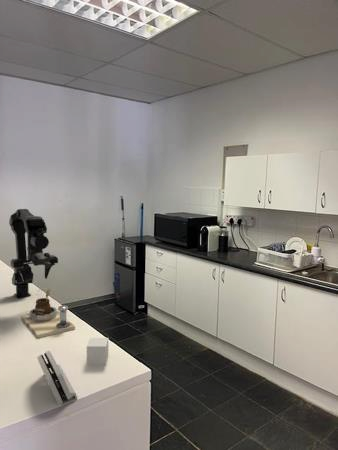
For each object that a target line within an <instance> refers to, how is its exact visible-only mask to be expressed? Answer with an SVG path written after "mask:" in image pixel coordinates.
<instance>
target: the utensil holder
mask: <svg viewBox="0 0 338 450" xmlns="http://www.w3.org/2000/svg"><path fill="white" fill-rule="evenodd" d="M50 291H51V289H50V288H49V289H47V290H46V292H45V297H46V298H45V297H42V296H39V298H38V299H36V301H35V307H34V309H35V314H36V315H45V314H50V313H51V307H52V306H51V303H50V299H49V298H48V297H49V296H50ZM40 292H41V289H38V291H37V292H36V295H39V294H41V293H40Z"/></svg>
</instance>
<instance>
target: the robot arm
mask: <svg viewBox="0 0 338 450" xmlns="http://www.w3.org/2000/svg"><path fill="white" fill-rule="evenodd" d="M8 222H9V227H10V229H11V231H12V232H13V234H14V237H15V239H14V240H15V251H16V258H14V259H13V258H12V259H11V260H10V266H11V268H13V273H12V278H11V284H12V285H13V286H15V293H14V294H13V296H15V297H16V298H17V299H21V298H26V297H31V296H32V293H30V292H29V288H30V287H29V284H33V283H34V282H33V280H34V273H33V271H32V267H31V266H30V265H33V266H37V267H38V266H44V279H45V280H47V279H48V276H49V274H50V271H51V268H52V267H53V266H55V265H56V264H59V258H58V257H57V256H56V255H54V254H51V253H50V252H45V253H44V252H43V251H44V250H45V249H46V248H47V247H48V246H49V242H50V240H49V238H48V237H47V236H45V234H47V230H48V228H47V224H46V222H45V219H43V217H42V216H38V215H34V214H33V213H32V212H30V211H29V209H27V208H19V209H17V210H16V211H15V212H14V213H12V214H11V215H10V217H9V221H8ZM26 235H27V237H26ZM26 238H27V241H26Z"/></svg>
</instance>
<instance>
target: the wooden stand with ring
mask: <svg viewBox="0 0 338 450" xmlns="http://www.w3.org/2000/svg"><path fill="white" fill-rule="evenodd" d="M50 307H51V313H50V314H45V315H36V314H35V308H33V309H31V310H30V311H29V314H26V315H22V316H21V320H22V321H23V322H24V323H25V325H26V326H27V327H28V328H29V329H30V331H31V332H32V333H33V334H34V335H35V337H36V338H37V339H41V338H44V337H48V336H53V335H57V334H60V333H64V332H68V331H72V330H75V329H76V326H75V325H74V324H73V323H72V322H71V321H70V320H69V319H68V318H67V311H68V310H69V307H68V305H66V304H65V305H60V306H58V307H57V308H56V307H54V306H50Z"/></svg>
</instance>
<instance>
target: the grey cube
mask: <svg viewBox="0 0 338 450" xmlns="http://www.w3.org/2000/svg"><path fill="white" fill-rule="evenodd" d="M108 357H109V337H90V338H89V339H88V343H87V344H86V365H87V364H92V365H107V361H108Z"/></svg>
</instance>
